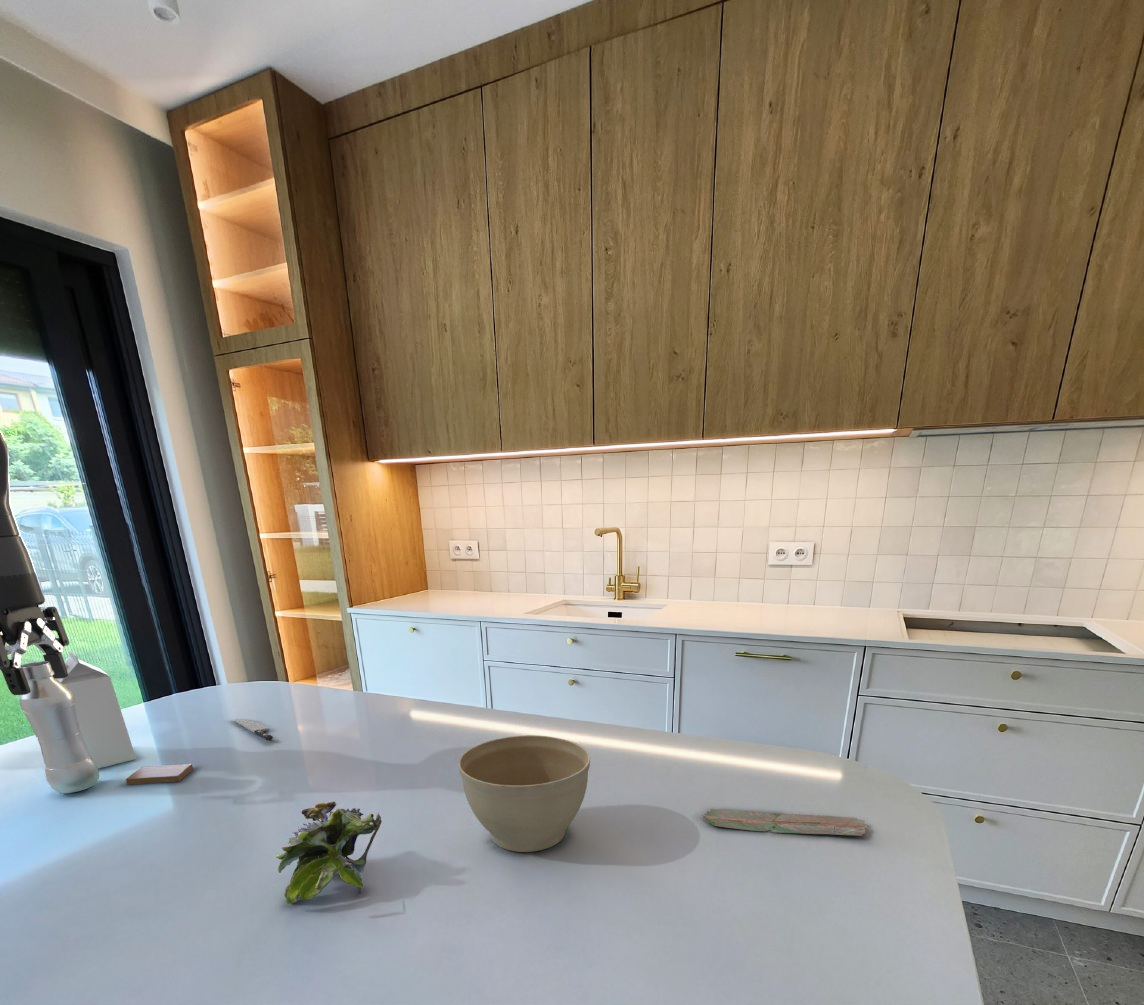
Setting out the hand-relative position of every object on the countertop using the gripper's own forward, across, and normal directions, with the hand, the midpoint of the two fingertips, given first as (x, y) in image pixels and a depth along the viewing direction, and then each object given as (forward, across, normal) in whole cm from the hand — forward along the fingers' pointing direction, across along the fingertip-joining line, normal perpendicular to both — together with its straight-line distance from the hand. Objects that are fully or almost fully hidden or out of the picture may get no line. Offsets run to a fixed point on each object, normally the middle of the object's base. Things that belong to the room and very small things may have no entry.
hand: (41, 685), depth 95 cm
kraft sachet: (+17, -3, +11) cm, 20 cm away
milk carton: (+17, -12, -2) cm, 21 cm away
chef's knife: (+17, -24, +19) cm, 35 cm away
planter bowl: (+17, +25, +70) cm, 76 cm away
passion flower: (+17, +33, +48) cm, 61 cm away
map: (+17, +27, +103) cm, 108 cm away
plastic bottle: (+17, 0, 0) cm, 17 cm away
